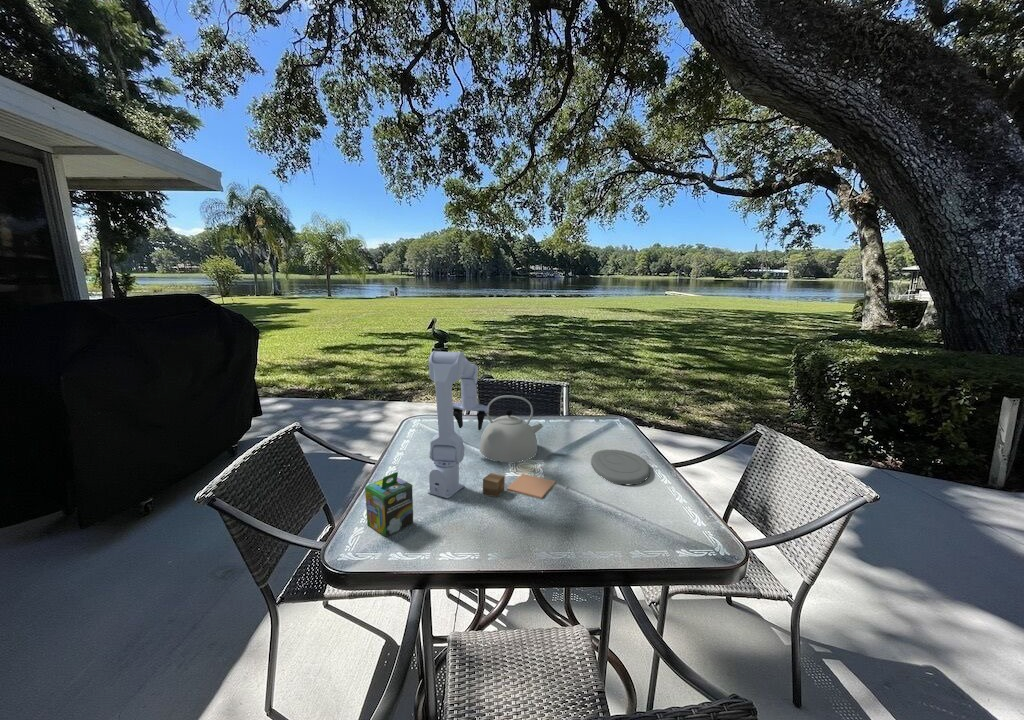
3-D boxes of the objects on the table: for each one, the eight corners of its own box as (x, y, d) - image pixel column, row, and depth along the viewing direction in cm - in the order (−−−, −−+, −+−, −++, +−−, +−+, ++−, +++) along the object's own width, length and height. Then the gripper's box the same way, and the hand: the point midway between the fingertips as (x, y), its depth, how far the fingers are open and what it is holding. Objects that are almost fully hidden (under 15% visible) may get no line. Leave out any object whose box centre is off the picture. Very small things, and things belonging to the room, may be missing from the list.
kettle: (541, 441, 178) (543, 389, 174) (544, 463, 155) (546, 404, 151) (482, 440, 178) (482, 387, 174) (476, 462, 156) (476, 403, 152)
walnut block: (496, 497, 130) (497, 482, 129) (482, 494, 132) (482, 479, 131) (504, 490, 134) (504, 476, 134) (490, 487, 137) (490, 472, 136)
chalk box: (394, 511, 121) (392, 463, 118) (414, 523, 115) (413, 472, 113) (365, 525, 114) (363, 474, 111) (385, 538, 108) (383, 484, 106)
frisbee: (601, 486, 139) (601, 479, 138) (585, 454, 165) (585, 448, 165) (662, 487, 139) (662, 479, 139) (636, 454, 166) (636, 448, 165)
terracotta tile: (541, 498, 129) (541, 497, 129) (506, 490, 135) (506, 488, 134) (555, 482, 140) (555, 481, 140) (522, 475, 145) (522, 473, 145)
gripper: (491, 392, 158) (491, 425, 162) (454, 389, 162) (456, 421, 166) (485, 399, 152) (486, 433, 156) (447, 396, 155) (449, 429, 159)
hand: (470, 428), depth 160 cm, fingers open, 7 cm apart
